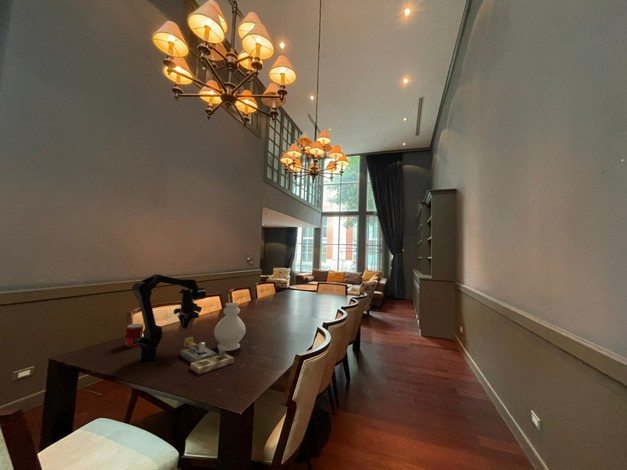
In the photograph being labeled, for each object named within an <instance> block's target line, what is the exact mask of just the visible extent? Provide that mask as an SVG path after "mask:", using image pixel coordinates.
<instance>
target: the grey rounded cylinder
mask: <svg viewBox="0 0 627 470" xmlns="http://www.w3.org/2000/svg"><path fill="white" fill-rule="evenodd" d="M198 345H199V350H198V355H202V354H204V353H205V347H206V342H205V341H200V342H199V343H198Z"/></svg>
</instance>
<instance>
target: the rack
mask: <svg viewBox="0 0 627 470" xmlns="http://www.w3.org/2000/svg"><path fill="white" fill-rule="evenodd" d="M234 360H235V357H233V355H232V356H231V355H229V354H228V353H226V351H225V350H219V349H218V354H217V356H214V357H211V358H207V359H204V360H200V361H197V362H194V363H191V362H190V370H191V371H193V372H195V374H198V375H201V374H204V373H208V372H209V371H213V370H216V369H219V368H222V367H226V366H229V365H231V364H233V363H234V362H235V361H234Z"/></svg>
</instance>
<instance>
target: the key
mask: <svg viewBox="0 0 627 470" xmlns="http://www.w3.org/2000/svg"><path fill="white" fill-rule="evenodd" d="M183 343H184V344H183V347H184V348H185V347H188V348H190V346H192V347H194V348H197V345H199V343H195V341H194V337H193V336H190V337H185V338H184V342H183Z"/></svg>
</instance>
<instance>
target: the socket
mask: <svg viewBox="0 0 627 470" xmlns="http://www.w3.org/2000/svg"><path fill="white" fill-rule="evenodd" d="M198 350H199V344H198V345H197V348H194V347H192V346H190V348H189V347H188V348H186V349H181V350H180V357H182V358H183V359H185V360H186V361H188V362H190V364H191V363H194V362H197V361H200V360H204V359H207V358H211V357H214V356H218V353H217V352H216V351H214V350H212V349H209V348H208V347H206V346H205V353H204V354H202V355H198Z"/></svg>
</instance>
